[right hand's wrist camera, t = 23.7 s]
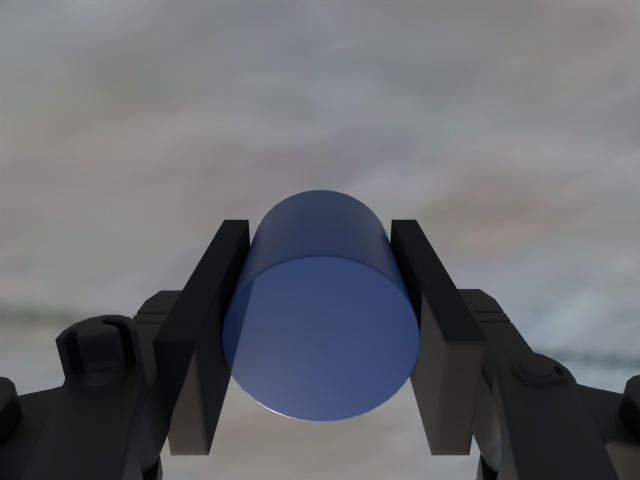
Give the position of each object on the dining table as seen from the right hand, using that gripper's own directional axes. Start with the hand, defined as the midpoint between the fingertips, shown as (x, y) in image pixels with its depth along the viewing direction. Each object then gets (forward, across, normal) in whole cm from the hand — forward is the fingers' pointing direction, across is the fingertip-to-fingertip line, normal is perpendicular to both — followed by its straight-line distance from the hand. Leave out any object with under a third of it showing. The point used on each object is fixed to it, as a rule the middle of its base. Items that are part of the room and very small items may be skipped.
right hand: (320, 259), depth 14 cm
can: (0, 0, 0) cm, 0 cm away
